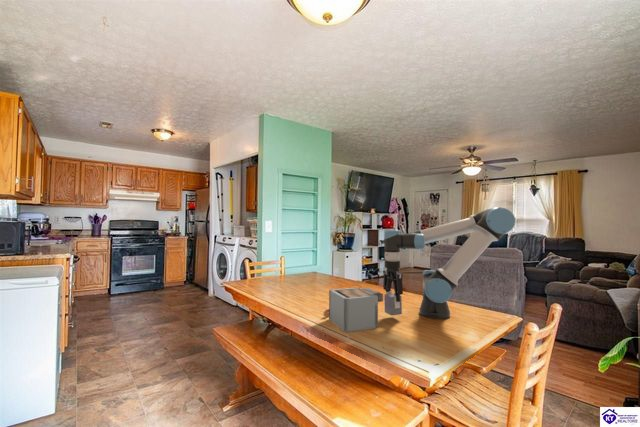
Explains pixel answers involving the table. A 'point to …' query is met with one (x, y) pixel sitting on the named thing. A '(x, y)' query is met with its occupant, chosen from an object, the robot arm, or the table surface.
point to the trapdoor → (361, 293)
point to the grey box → (353, 311)
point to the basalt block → (392, 305)
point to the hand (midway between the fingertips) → (393, 306)
